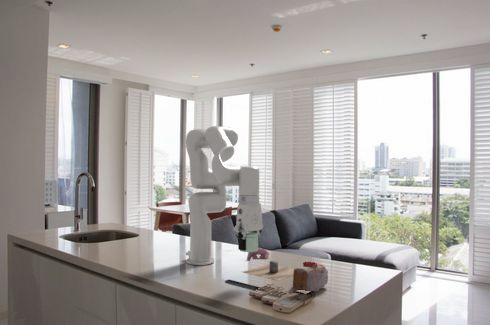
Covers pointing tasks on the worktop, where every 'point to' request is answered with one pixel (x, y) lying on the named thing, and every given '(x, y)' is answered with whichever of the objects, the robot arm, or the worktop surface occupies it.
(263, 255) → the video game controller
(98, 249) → the worktop surface
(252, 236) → the cap
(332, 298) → the worktop surface
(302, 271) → the food item
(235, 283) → the mat
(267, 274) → the post stand
